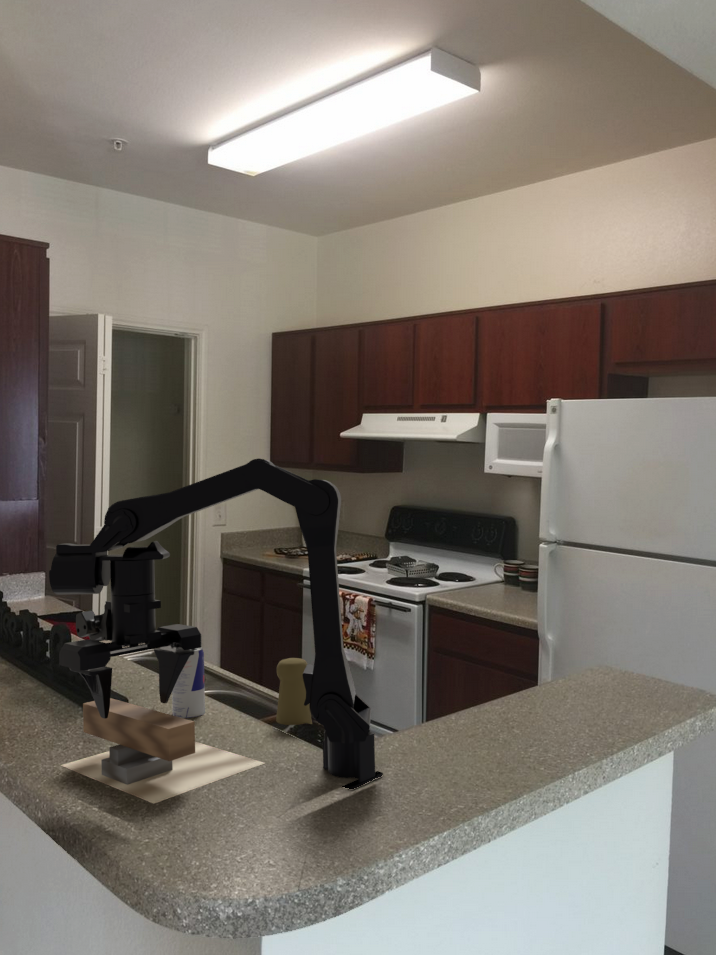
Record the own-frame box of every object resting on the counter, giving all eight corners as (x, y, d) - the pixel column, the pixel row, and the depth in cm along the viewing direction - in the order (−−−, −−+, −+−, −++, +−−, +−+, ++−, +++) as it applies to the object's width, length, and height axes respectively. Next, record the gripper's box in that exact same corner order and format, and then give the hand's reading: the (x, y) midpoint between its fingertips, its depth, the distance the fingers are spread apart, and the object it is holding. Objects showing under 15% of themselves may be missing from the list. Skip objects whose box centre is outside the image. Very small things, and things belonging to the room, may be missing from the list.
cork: (307, 733, 129) (305, 663, 130) (270, 732, 131) (268, 662, 131) (316, 722, 135) (315, 655, 135) (281, 721, 137) (279, 654, 137)
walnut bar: (195, 753, 105) (194, 721, 105) (169, 761, 102) (168, 728, 102) (108, 725, 118) (108, 697, 118) (83, 732, 115) (82, 703, 115)
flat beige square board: (265, 771, 112) (264, 733, 112) (154, 813, 99) (153, 769, 99) (169, 741, 127) (168, 707, 127) (60, 773, 113) (59, 736, 113)
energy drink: (211, 718, 139) (210, 647, 139) (190, 726, 135) (188, 653, 135) (187, 714, 142) (186, 644, 142) (165, 722, 137) (164, 650, 137)
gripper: (156, 582, 122) (158, 687, 122) (36, 596, 108) (38, 715, 108) (203, 587, 115) (205, 699, 115) (81, 603, 101) (83, 731, 101)
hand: (135, 710), depth 110 cm, fingers open, 9 cm apart
